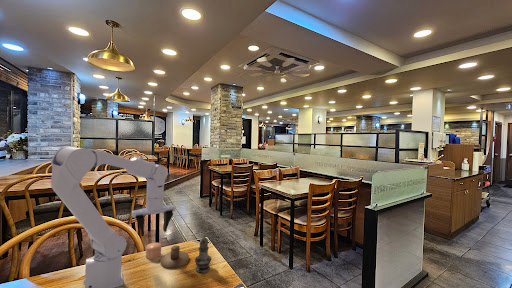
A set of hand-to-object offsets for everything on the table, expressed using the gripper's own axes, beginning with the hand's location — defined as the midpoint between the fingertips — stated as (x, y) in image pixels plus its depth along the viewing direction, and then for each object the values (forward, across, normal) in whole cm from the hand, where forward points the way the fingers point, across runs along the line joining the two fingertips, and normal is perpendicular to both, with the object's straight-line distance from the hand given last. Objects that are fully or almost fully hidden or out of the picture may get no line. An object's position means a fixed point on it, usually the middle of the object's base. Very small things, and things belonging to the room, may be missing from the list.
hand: (153, 232), depth 81 cm
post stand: (+10, +7, -4) cm, 13 cm away
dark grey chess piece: (+11, +14, -14) cm, 22 cm away
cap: (+10, +1, +3) cm, 11 cm away
